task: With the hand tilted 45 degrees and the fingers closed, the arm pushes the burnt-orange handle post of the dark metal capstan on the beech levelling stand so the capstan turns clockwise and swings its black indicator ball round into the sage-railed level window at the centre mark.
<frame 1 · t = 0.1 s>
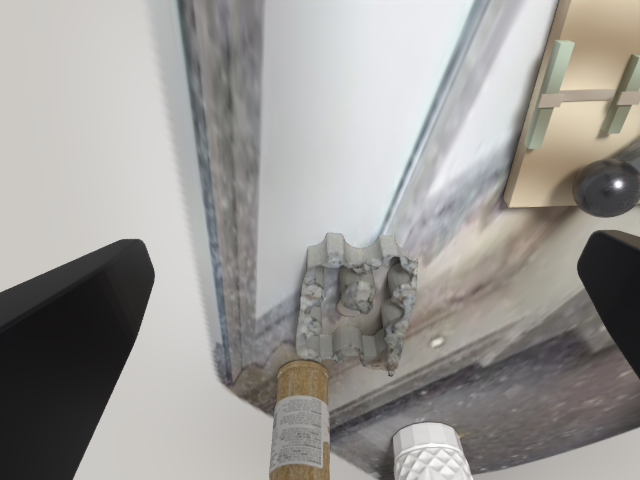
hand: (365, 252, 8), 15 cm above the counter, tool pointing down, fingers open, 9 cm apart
egg carton: (350, 285, 30), on the counter
sprinkles bottle: (303, 371, 36), on the counter
white cup: (424, 435, 43), on the counter
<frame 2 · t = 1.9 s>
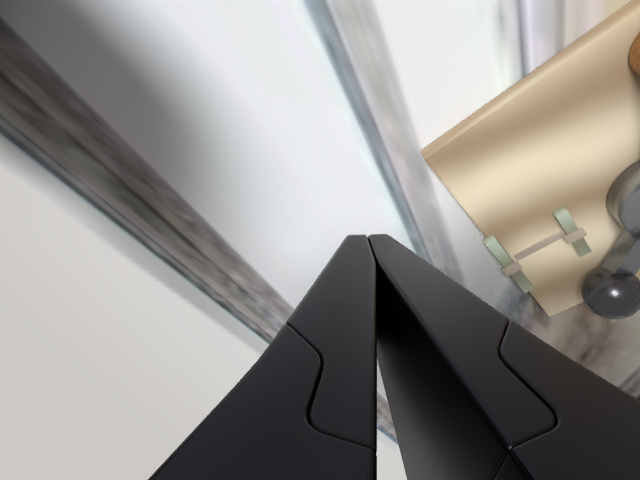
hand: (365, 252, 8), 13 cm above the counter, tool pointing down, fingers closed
stand: (639, 176, 22), on the counter
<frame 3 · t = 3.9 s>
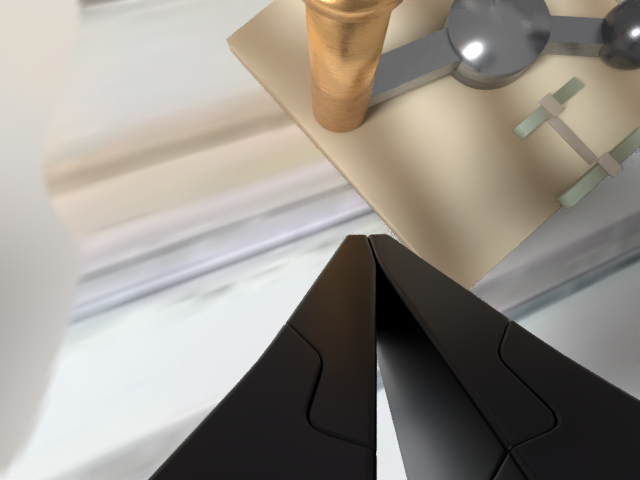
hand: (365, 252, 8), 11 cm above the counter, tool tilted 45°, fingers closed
stand: (475, 59, 21), on the counter
capstan: (519, 15, 15), point 6 cm above the counter, hinge at 0.0°
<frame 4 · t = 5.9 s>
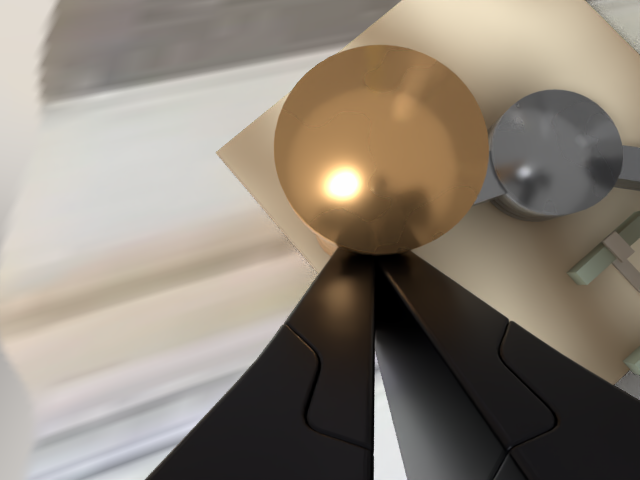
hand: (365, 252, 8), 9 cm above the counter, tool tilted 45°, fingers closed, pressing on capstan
stand: (518, 173, 17), on the counter
capstan: (594, 175, 11), point 6 cm above the counter, hinge at -4.2°, touching gripper
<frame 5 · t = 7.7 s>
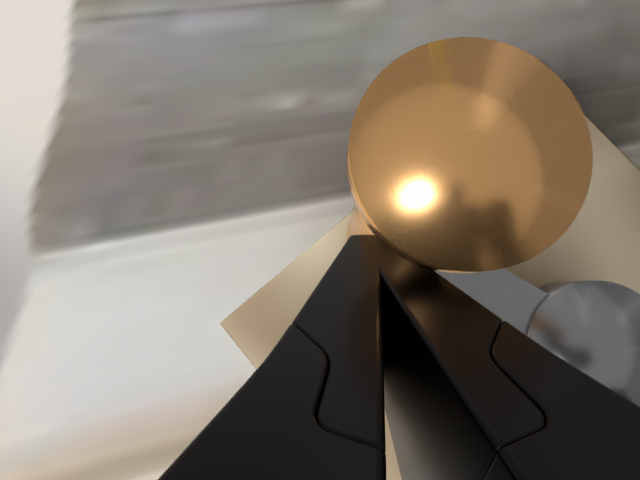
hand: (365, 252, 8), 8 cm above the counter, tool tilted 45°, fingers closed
stand: (550, 340, 16), on the counter
capstan: (610, 391, 10), point 6 cm above the counter, hinge at -53.3°, touching gripper
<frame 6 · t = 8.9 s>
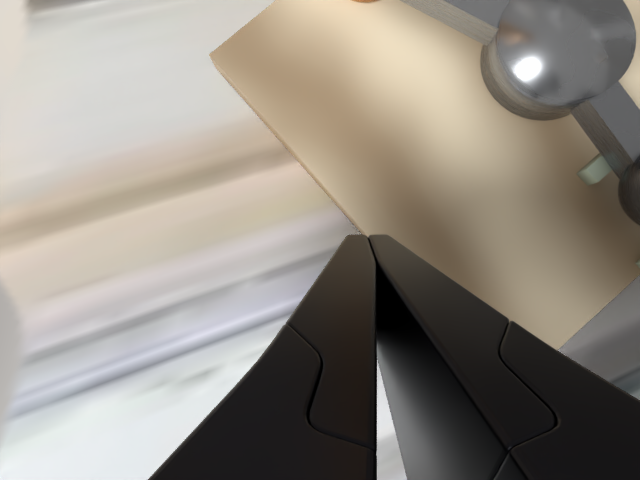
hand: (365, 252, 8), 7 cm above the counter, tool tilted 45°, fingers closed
stand: (524, 79, 17), on the counter
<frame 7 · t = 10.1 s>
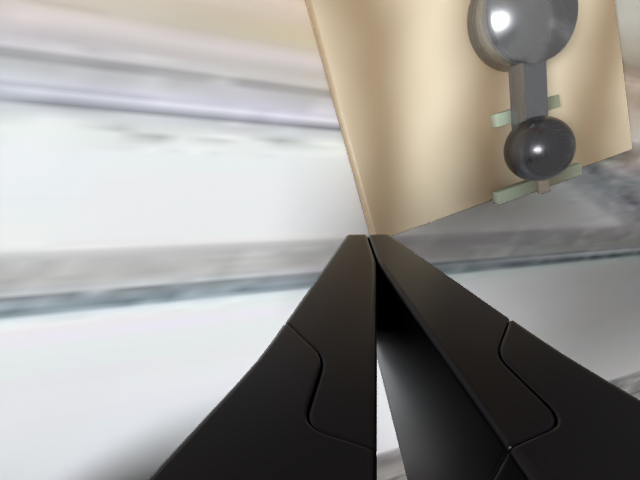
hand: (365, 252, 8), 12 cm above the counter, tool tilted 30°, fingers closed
stand: (492, 30, 21), on the counter
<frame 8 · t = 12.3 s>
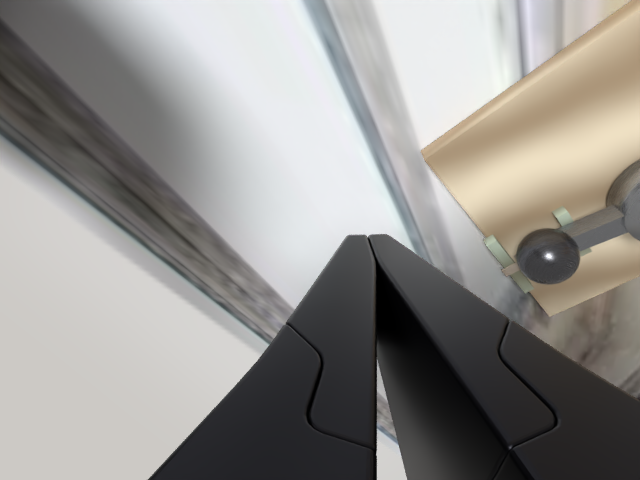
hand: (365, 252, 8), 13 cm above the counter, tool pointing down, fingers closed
stand: (638, 175, 22), on the counter
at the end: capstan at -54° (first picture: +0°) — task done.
